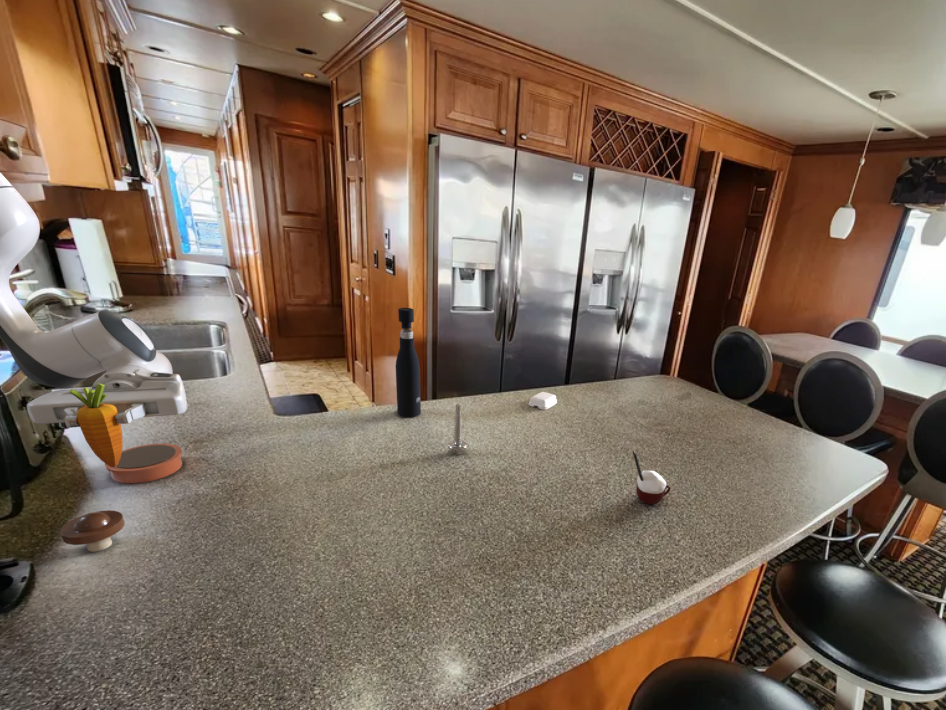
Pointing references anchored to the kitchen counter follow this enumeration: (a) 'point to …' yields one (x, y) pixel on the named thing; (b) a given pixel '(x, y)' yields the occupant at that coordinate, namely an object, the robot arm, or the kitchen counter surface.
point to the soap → (543, 400)
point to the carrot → (100, 425)
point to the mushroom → (93, 529)
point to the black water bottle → (407, 369)
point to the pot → (146, 463)
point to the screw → (457, 434)
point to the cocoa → (650, 485)
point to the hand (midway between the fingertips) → (97, 421)
